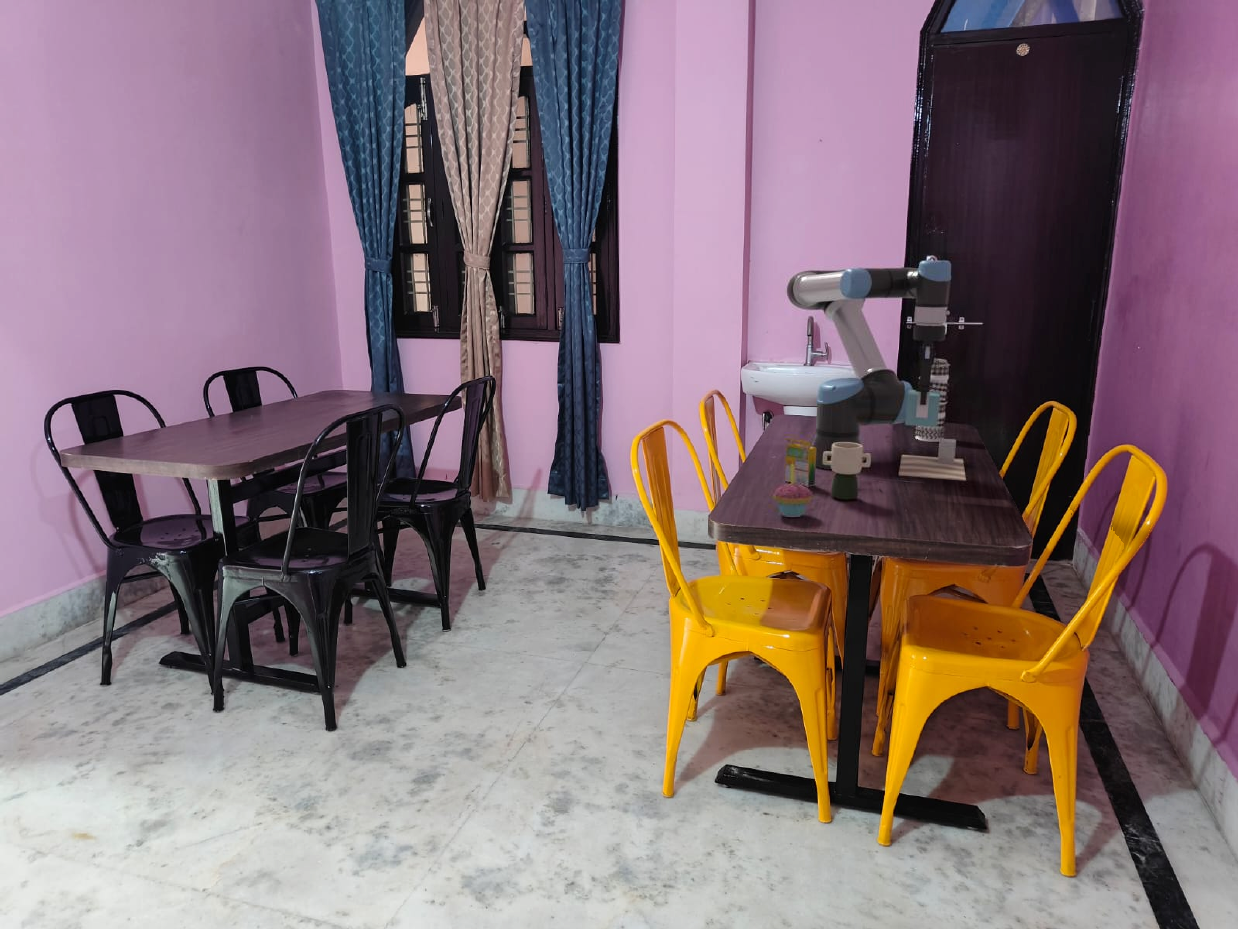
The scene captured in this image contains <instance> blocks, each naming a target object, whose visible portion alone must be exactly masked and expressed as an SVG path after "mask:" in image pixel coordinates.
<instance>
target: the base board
mask: <svg viewBox="0 0 1238 929" xmlns="http://www.w3.org/2000/svg"><path fill="white" fill-rule="evenodd" d="M898 476H901V477H903V476H904V477H916V478H929V479H930V478H931V479H940V480H942V479H943V480H954V481H967V478H966V472H965V464H964V459H963V458H954V464H943V463H938V456H937V457H936V456H923V455H910V454H909V455H908V454H901V458H900V464H899V471H898Z"/></svg>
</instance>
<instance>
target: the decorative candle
mask: <svg viewBox="0 0 1238 929" xmlns="http://www.w3.org/2000/svg"><path fill="white" fill-rule="evenodd" d="M949 366H951V364H949V363H948V361H947V359H944V358H934V365H933V366H932V367H931V379H930V383H933V385H932V386H930V391H939V392H940V401H939V411H938V422H937V427H930V426H915V430H916V431H915V432H914V433H915V436H914V437H915V438H914V439H916V440H917V439H918V441H922V442H929V443H931V442H932V443H934V442H935V443H938V442H939V443H940V439H945V438H944V436H945V433H944V432H945V431H946V429H945V427H944V426H946V423H945V421H946V420H947V419H946V410H945V409H946V404H948V400H947V399H948V398H949V395H947V393H948V392H950V389H949V388H950V387H951V384H950V383H948V381H950V380H951V378H950V376H949V370H950V369H949ZM919 379H920V376H919V377H918V380H919Z"/></svg>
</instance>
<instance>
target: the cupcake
mask: <svg viewBox="0 0 1238 929" xmlns="http://www.w3.org/2000/svg"><path fill="white" fill-rule="evenodd" d="M772 498H773V499H774V501H775V502H776V504H777V506H778V509H779V514H780V513H782V514H784V515H787V516H799V515H802V514H803V515H804V512H805V510H806V507H807V506H808V504H810V503H811V502H812V501H813V492H812V491H811V490H810V489H809V487H805V486H803V485H798V484H794V464H793V461H792V464H791V483H784V484H781V485H780V486H778V487H777V488H775V490H774V493H773V496H772ZM803 515H802V516H803Z"/></svg>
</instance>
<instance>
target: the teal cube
mask: <svg viewBox="0 0 1238 929" xmlns="http://www.w3.org/2000/svg"><path fill="white" fill-rule="evenodd" d="M929 392H930V395H929V406H928V417H927V418H920V417H916V411H917V400H918V392H916V389H913V390H908V397H907V408H906V420H905V421H904V425H905V426H915V427H917V426H930V427H937V422H938V411H939V401H940V392H939V391H929Z"/></svg>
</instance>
